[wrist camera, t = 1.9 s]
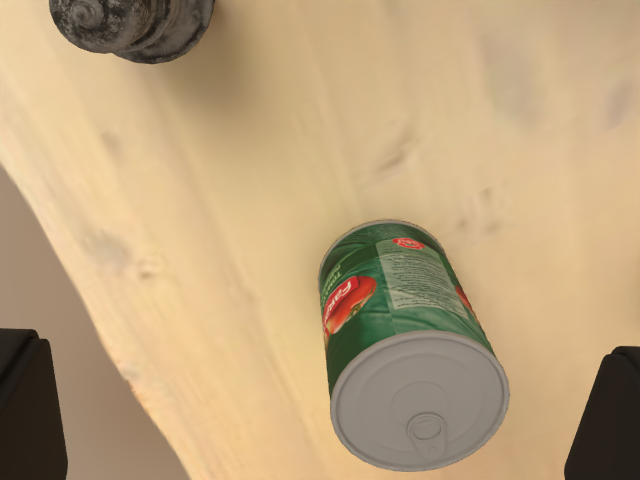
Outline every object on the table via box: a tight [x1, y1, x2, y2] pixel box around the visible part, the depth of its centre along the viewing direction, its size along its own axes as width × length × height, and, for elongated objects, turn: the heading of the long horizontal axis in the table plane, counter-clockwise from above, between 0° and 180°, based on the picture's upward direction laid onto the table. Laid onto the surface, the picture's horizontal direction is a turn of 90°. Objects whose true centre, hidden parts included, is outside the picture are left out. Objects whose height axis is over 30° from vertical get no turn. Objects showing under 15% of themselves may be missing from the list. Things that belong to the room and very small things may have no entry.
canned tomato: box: [318, 220, 510, 472], centre depth 31 cm, size 8×8×11 cm
